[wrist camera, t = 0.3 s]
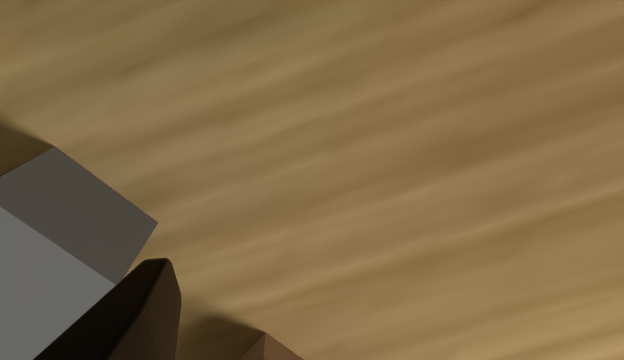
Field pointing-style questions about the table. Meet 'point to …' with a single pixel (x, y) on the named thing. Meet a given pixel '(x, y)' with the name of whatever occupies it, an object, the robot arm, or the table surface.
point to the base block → (59, 249)
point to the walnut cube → (268, 350)
